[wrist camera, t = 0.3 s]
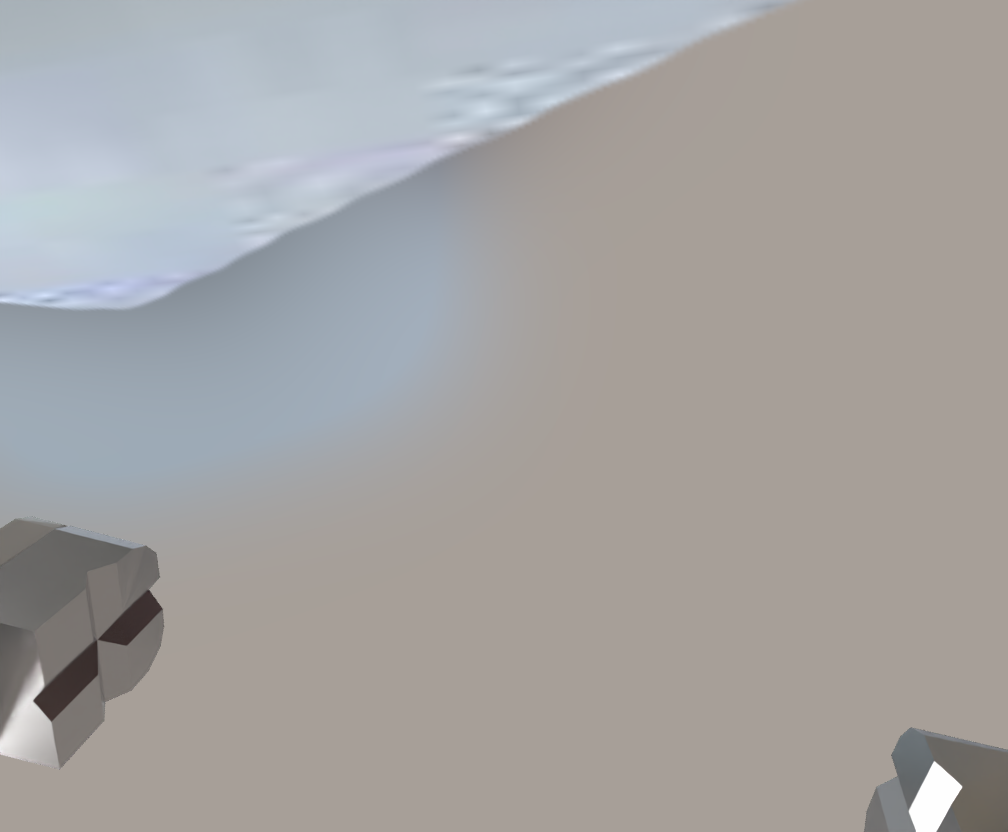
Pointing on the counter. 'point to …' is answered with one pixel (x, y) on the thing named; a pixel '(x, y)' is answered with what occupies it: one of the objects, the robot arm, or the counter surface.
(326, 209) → the counter surface
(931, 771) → the robot arm
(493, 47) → the counter surface
